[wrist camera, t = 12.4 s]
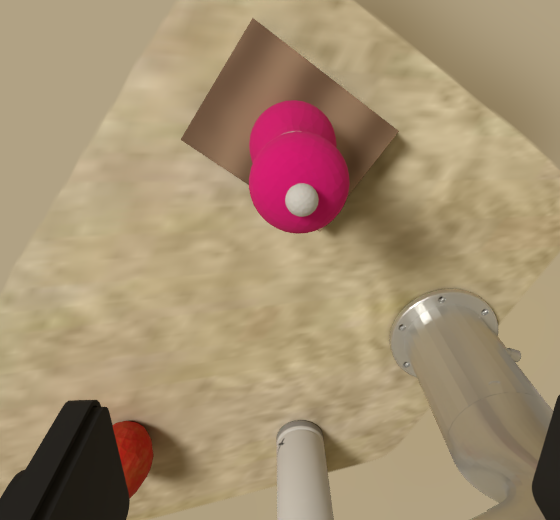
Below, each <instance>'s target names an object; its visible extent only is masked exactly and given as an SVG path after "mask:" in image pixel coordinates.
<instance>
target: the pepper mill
mask: <svg viewBox="0 0 560 520" xmlns="http://www.w3.org/2000/svg"><path fill="white" fill-rule="evenodd" d="M336 147H337V145H336V136H335V132H334V129H333V127H332V124H331V122H330V121H329V119H328V118H327V116H326V115H325V114H324V113H323V112H322V111H321V110H319V109H318V108H317V107H315V106H313V105H312V104H309V103H306V102H303V101H297V100H291V101H284V102H280V103H277V104H275V105H273V106H271V107H269V108H268V109H267V110H265V111H264V112H263V113H262V114H261V115H260V116H259V118H258V119H257V121H256V122H255V124H254V126H253V128H252V131H251V135H250V141H249V150H250V156H251V160H252V163H253V164H252V166H251V171H250V176H249V190H250V195H251V198H252V201H253V204H254V206H255V208H256V209H257V211H258V213H259V214H260V215H261V216H262V217H263V218H264V219H265V220H266V221H267V222H268V223H269V224H271V225H272V226H274V227H276V228H278V229H280V230H282V231H285V232H290V233H308V232H312V231H316V230H318V229H320V228H323V227H324V226H326V225H327V224H329V223H330V222H331V221H332V220H333V219H334V218H335V217H336V216H337V215H338V213H339V212H340V211H341V209H342V208H343V206H344V204H345V202H346V199H347V196H348V192H349V184H350V182H349V173H348V168H347V165H346V162H345V159H344V158H343V156H342V154H341V153H340V151H339V150H338V149H337V148H336Z"/></svg>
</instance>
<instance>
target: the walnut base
mask: <svg viewBox="0 0 560 520" xmlns="http://www.w3.org/2000/svg"><path fill="white" fill-rule="evenodd" d="M291 100H297V101H303V102H306V103H309V104H312V105H313V106H315V107H317V108H318V109H319V110H321V111H322V112H323V113H324V114H325V115H326V116H327V118H328V119H329V121H330V122H331V124H332V127H333V129H334V132H335V136H336V145H337V147H336V148H337V149H338V150H339V151H340V153H341V154H342V156H343V158H344V159H345V162H346V165H347V168H348V173H349V182H350V184H349V192H348V196H349V194H350V193H351V192H352V190H353V189H354V188H355V187H356V185H357V184H358V183H359V181H360V180H361V179H362V178H363V176H364V175H365V174H366V173H367V171H368V170H369V169H370V167H371V166H372V165H373V164H374V162H375V161H376V160H377V158H378V157H379V156H380V155H381V153H382V152H383V151H384V150H385V148H386V147H387V146H388V144H389V143H390V142H391V141H392V139H393V138H394V137H395V135H396V134H397V133H398V132H399V131H398V130H396V129H395V128H394V127H393V126H391V125H390V124H389V123H387V122H386V121H385V120H384V119H382V118H381V117H380V116H378V115H377V114H376V113H375V112H373V111H372V110H371V109H369V108H368V107H367V106H366V105H364V104H363V103H362V102H360V101H359V100H358V99H357V98H355V97H354V96H353V95H351V94H350V93H349V92H348V91H346V90H345V89H344V88H342V87H341V86H340V85H339V84H337V83H336V82H335V81H333V80H332V79H331V78H329V77H328V76H327V75H326V74H324V73H323V72H322V71H320V70H319V69H318V68H317V67H315V66H314V65H313V64H311V63H310V62H309V61H308V60H306V59H305V58H304V57H302V56H301V55H300V54H299V53H297V52H296V51H295V50H293V49H292V48H291V47H290V46H288V45H287V44H286V43H284V42H283V41H282V40H281V39H279V38H278V37H277V36H275V35H274V34H273V33H271V32H270V31H269V30H268V29H266V28H265V27H264V26H262V25H261V24H260V23H259V22H257V21H256V20H255V19H252V20H251V22H250V24H249V25H248V27H247V29H246V30H245V32H244V34H243V35H242V37H241V39H240V40H239V42H238V44H237V46H236V47H235V49H234V51H233V52H232V54H231V56H230V57H229V59H228V61H227V62H226V64H225V66H224V67H223V69H222V71H221V72H220V74H219V76H218V78H217V79H216V81H215V83H214V84H213V86H212V88H211V89H210V91H209V93H208V94H207V96H206V98H205V99H204V101H203V103H202V105H201V106H200V108H199V110H198V111H197V113H196V115H195V116H194V118H193V120H192V121H191V123H190V125H189V126H188V128H187V130H186V132H185V133H184V135H183V137H182V138H181V140H182V141H184V142H185V143H187V144H188V145H190V146H191V147H193V148H194V149H196V150H197V151H199V152H200V153H202V154H203V155H205V156H206V157H208V158H209V159H211V160H212V161H214V162H215V163H217V164H218V165H220V166H221V167H223V168H224V169H226V170H227V171H229V172H230V173H232V174H233V175H235V176H236V177H238V178H239V179H241V180H242V181H244V182H245V183H247V184H248V185H249V176H250V171H251V166H252V164H253V163H252V160H251V156H250V150H249V141H250V135H251V131H252V128H253V126H254V124H255V122H256V121H257V119H258V118H259V116H260V115H261V114H262V113H263V112H264V111H265V110H267V109H268V108H269V107H271V106H273V105H275V104H277V103H280V102H284V101H291ZM348 196H347V197H348ZM322 229H323V228H320V229H318V231H319V232H320V231H321V230H322Z"/></svg>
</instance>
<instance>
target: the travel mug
mask: <svg viewBox="0 0 560 520" xmlns="http://www.w3.org/2000/svg"><path fill="white" fill-rule="evenodd" d="M277 520H334V518H333V511H332V503H331V495H330V487H329V480H328V472H327V464H326V456H325V448H324V440H323V434H322V431H321V430H320V428H319V427H318V426H317V425H315V424H314V423H311V422H309V421H303V420H298V421H292V422H290V423H287V424H286V425H284V426H283V427H282V428H281V429H280V430H279V432H278V434H277Z"/></svg>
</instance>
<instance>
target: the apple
mask: <svg viewBox="0 0 560 520" xmlns="http://www.w3.org/2000/svg"><path fill="white" fill-rule="evenodd" d="M112 426H113V430H114V434H115V438H116V442H117V446H118V451H119V455H120V459H121V463H122V467H123V471H124V475H125V479H126V484H127V488H128V492H129V498H131V497H132V496H133V495H134V494H135V493H136V492H137V490H138V489H139V487H140V486H141V484H142V483H143V481H144V480H145V478H146V477H147V475H148V473H149V471H150V468H151V465H152V460H153V449H152V441H151V438H150V436H149V434H148V432H147V431H146V429H145V428H144V427H143V426H142V425H140V424H138V423H136V422H130V421H123V422H118V423H116V424H114V425H112Z"/></svg>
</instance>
